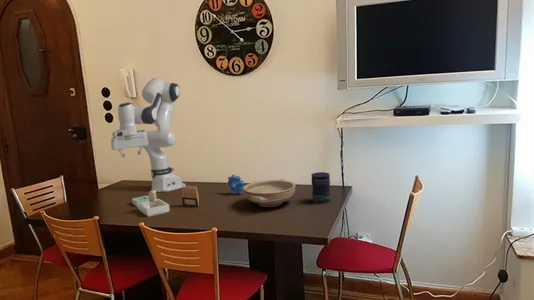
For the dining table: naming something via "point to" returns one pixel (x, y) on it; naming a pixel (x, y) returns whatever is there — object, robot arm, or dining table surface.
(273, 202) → the ceramic bowl
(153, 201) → the dowel
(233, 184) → the grapes
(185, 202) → the ammunition clip
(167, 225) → the dining table surface
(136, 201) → the holder
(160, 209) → the tray
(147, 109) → the robot arm
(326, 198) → the storage jar
